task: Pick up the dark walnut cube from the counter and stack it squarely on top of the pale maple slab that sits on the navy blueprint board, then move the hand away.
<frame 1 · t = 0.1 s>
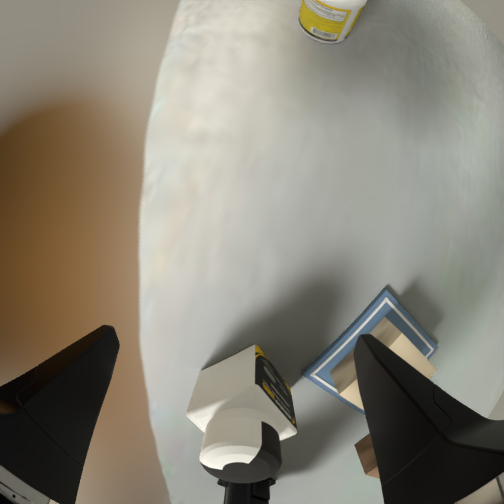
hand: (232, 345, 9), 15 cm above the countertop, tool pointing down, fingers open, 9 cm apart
maple slab: (378, 363, 26), resting on blueprint board
walnut cube: (381, 437, 29), on the countertop
supplement bottle: (322, 27, 20), on the countertop
blueprint board: (376, 360, 26), on the countertop
medicine bottle: (245, 380, 27), on the countertop
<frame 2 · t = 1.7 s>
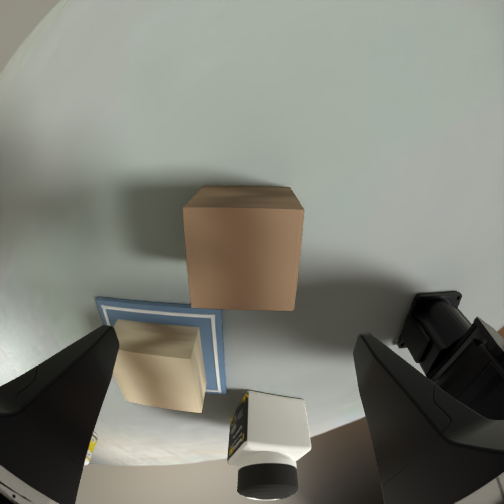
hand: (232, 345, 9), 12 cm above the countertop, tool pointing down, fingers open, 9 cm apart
maple slab: (163, 354, 25), resting on blueprint board
walnut cube: (246, 226, 20), on the countertop
supplement bottle: (86, 429, 37), on the countertop
blueprint board: (164, 350, 25), on the countertop
medicine bottle: (266, 408, 29), on the countertop
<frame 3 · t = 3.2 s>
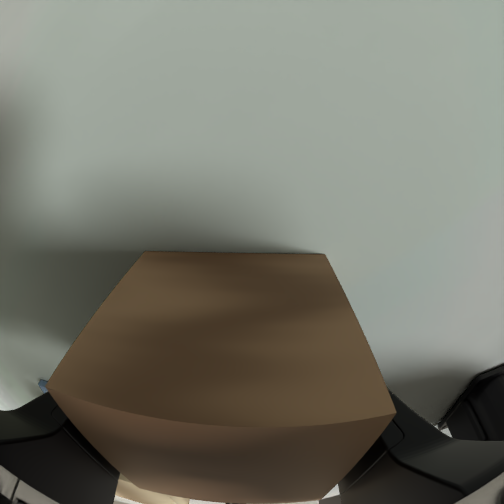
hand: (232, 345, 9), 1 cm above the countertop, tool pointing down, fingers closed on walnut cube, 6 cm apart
maple slab: (134, 448, 15), resting on blueprint board
walnut cube: (234, 326, 10), on the countertop, touching gripper
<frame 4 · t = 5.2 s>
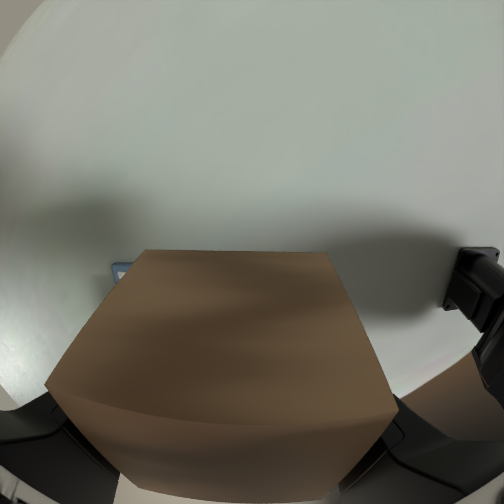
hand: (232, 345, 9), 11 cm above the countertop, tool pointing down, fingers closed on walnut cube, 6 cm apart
walnut cube: (234, 324, 10), point 10 cm above the countertop, touching gripper
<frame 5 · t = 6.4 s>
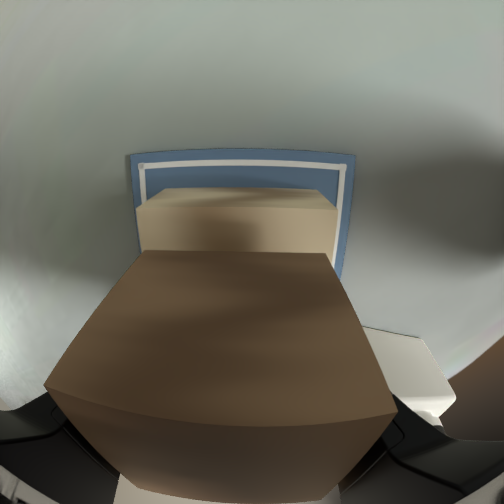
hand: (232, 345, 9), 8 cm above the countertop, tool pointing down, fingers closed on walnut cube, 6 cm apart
maple slab: (240, 258, 15), resting on blueprint board
walnut cube: (234, 325, 10), point 7 cm above the countertop, touching gripper
blueprint board: (240, 254, 16), on the countertop
medicine bottle: (369, 361, 20), on the countertop
when the fingers open (7 cm above the countertop, at t = 7.3 s): walnut cube drops 2 cm, resting on maple slab.
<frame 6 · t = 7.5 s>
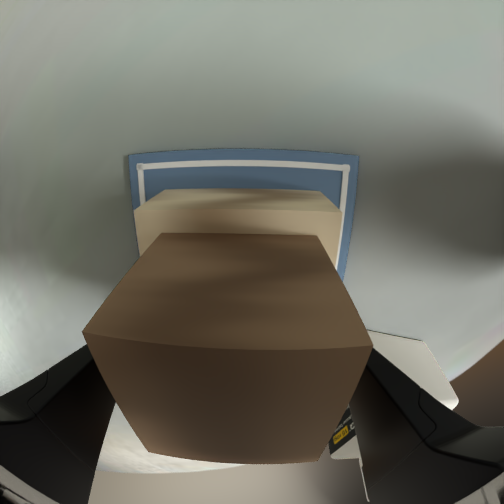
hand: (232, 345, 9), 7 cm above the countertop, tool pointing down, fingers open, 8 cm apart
maple slab: (241, 260, 15), resting on blueprint board, touching walnut cube
walnut cube: (238, 300, 11), point 4 cm above the countertop, touching maple slab
blueprint board: (241, 256, 16), on the countertop
medicine bottle: (371, 364, 20), on the countertop
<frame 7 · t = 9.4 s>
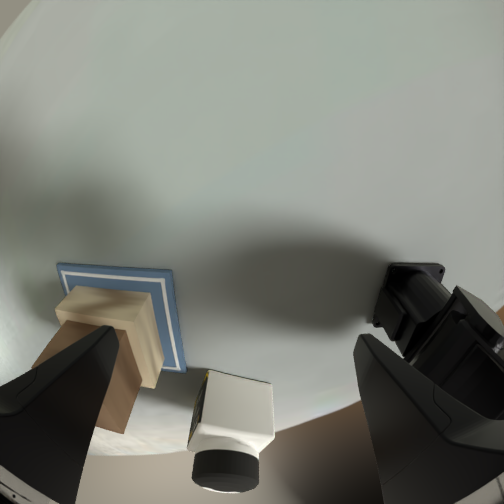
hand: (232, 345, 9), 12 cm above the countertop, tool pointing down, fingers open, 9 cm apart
maple slab: (119, 324, 23), resting on blueprint board, touching walnut cube
walnut cube: (104, 351, 20), point 4 cm above the countertop, touching maple slab
blueprint board: (121, 321, 24), on the countertop
medicine bottle: (231, 392, 28), on the countertop
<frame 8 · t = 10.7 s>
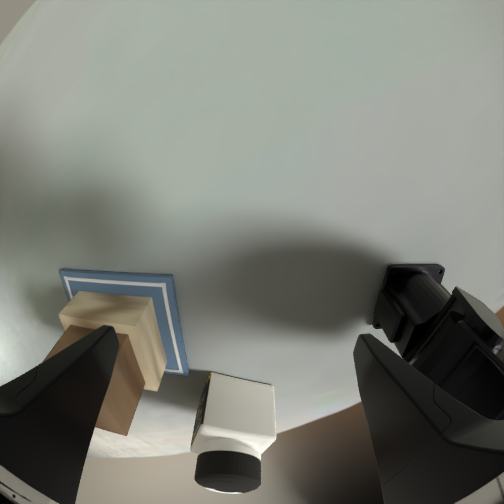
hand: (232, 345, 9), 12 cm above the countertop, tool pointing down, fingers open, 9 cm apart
maple slab: (122, 328, 24), resting on blueprint board, touching walnut cube
walnut cube: (107, 355, 20), point 4 cm above the countertop, touching maple slab
blueprint board: (124, 325, 24), on the countertop
medicine bottle: (234, 394, 28), on the countertop
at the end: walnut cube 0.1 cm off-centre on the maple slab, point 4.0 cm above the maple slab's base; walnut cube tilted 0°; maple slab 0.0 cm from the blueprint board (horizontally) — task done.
